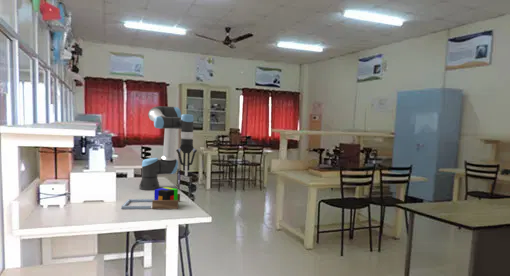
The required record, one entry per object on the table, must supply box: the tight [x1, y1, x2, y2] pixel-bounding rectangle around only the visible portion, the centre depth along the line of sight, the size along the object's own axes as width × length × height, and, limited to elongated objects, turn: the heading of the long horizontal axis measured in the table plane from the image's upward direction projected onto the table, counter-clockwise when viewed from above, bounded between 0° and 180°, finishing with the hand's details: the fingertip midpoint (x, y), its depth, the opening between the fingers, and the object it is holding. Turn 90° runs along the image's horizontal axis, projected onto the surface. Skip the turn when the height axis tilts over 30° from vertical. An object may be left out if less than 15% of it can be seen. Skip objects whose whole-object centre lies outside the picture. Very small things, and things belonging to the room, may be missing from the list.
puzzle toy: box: [153, 187, 179, 200], centre depth 204 cm, size 10×10×10 cm
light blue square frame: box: [121, 198, 154, 210], centre depth 202 cm, size 18×17×2 cm
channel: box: [151, 193, 181, 210], centre depth 204 cm, size 18×15×5 cm
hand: (186, 175), depth 205 cm, fingers closed
